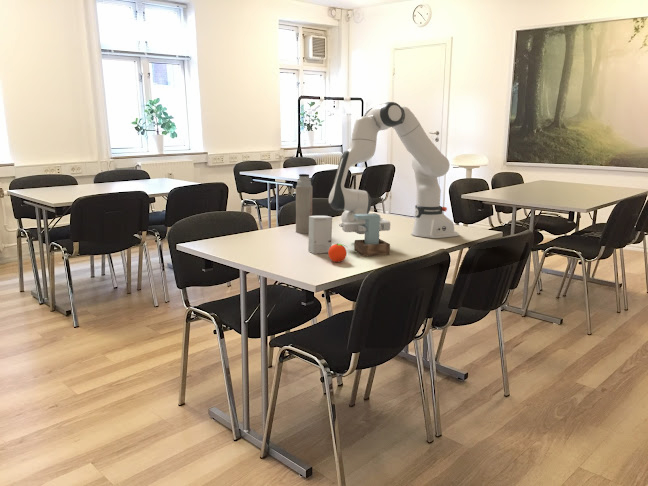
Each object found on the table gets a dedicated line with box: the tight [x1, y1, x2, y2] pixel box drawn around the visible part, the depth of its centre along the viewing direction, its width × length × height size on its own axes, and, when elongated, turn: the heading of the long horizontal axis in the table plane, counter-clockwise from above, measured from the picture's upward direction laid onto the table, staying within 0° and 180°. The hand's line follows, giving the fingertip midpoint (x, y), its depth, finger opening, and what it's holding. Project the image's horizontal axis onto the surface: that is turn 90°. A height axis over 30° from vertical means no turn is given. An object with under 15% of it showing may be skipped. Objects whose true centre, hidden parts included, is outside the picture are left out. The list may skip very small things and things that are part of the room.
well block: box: [354, 238, 391, 258], centre depth 219 cm, size 11×11×4 cm
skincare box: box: [307, 215, 333, 255], centre depth 219 cm, size 8×6×15 cm
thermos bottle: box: [295, 173, 313, 234], centre depth 260 cm, size 8×8×28 cm
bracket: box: [354, 212, 381, 245], centre depth 217 cm, size 10×4×13 cm, turn 107°
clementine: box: [328, 243, 349, 263], centre depth 203 cm, size 8×7×7 cm
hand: (372, 229), depth 217 cm, fingers closed on bracket, 4 cm apart
